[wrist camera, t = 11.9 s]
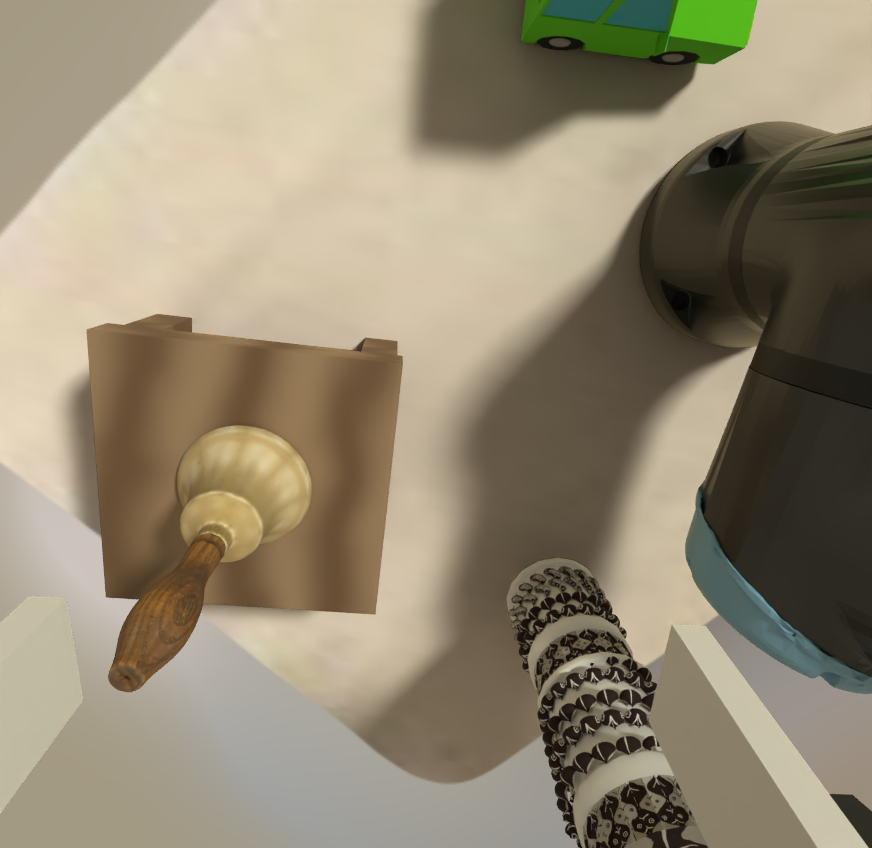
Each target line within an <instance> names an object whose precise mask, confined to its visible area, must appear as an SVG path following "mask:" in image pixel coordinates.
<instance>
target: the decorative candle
mask: <svg viewBox="0 0 872 848" xmlns="http://www.w3.org/2000/svg"><path fill="white" fill-rule="evenodd" d="M506 600H507V607H508V613H509V616H510V618H511V619H512V620H513V622H512V623H511V627H512V628H513V629H518V630H519V633H517V634H515V636H514V639H515V640H516V641H517V642H518V643H519V644H520V645H521V647H520V649H519V654H520V656H521V657H523V658H524V659H525V660H524V662H523V669H524V670H525V671H526V672H529V673H530V676H531V680H532V683H533V686H534V688H535V689H536V690H537V692H538V695H539V698H538V701H537V705H538V718H539V720H540V723H541V724H540V728H541V730H542V731H543V732H544V734H543V741H544V743H545V744H546V748H545V754H546V756H548V757H549V766H550V768H551V769H552V773H551V774H552V777H553V779H554V780H555V781H556V782H558V783H557V784H556V786H555V793H556V796H557V797H558V801H557V806H558V808H559V809H560V810H561V811H562V812H564V813H563V818H564V819H563V820H564V821H566V822H570V823H569V824H568V825H567V826H566V828H565V831H566V833H567V834H568V835H569V836H570V838H574V839H575V838H577V845H578V847H579V848H708V846H707V844H706V842H705V840H704V838H703V836H702V834H701V831H700V829H699V827H698V825H697V823H696V821H695V819H694V817H693V814H692V812H691V810H690V808H689V806H688V804H687V802H686V800H685V798H684V795H683V793H682V791H681V789H680V787H679V785H678V783H677V781H676V778H675V776H674V774H673V772H672V770H671V768H670V766H669V764H668V761H667V759H666V757H665V755H664V753H663V751H662V749H661V747H660V745H659V742H658V740H657V738H656V736H655V734H654V732H653V730H652V728H651V725H650V723H649V721H648V720H649V716H650V712H651V708H652V704H653V700H654V695H655V691H656V687H657V684H656V683H654V682H653V680H652V675H651V672H650V671H649V669H647V668H644V666H643V665H642V664H640V663H638V662H637V661H635V660H634V659H633V655H632V651H631V649H630V647H629V645H628V644H627V642H626V640H625V638H626V630H625V629H624V628H622V627H619V626H620V621H619V619H618V617H617V616H616V615H613V614H612V607H611V604H610V602H609V601H608V600H607V599H606V598H605V594H604V592H603V591H602V589H600V588H599V584H598V582H597V580H596V579H595V578H594V577H593V576H592V574H591V573H590V571H589V569H587V568H586V567H584V566H582V565H581V564H579V563H578V562H576V561H575V560H569V559H563V558H551V559H546V560H540V561H537V562H536V563H534V564H532V565H530V566H529V567H527V568H525V569H523V570H522V571H521V572H520V573H519V575H518V576H517V577H516V578H515V579H514V581H513V582H512V583H511V585H510V588H509V592H508V595H507V598H506ZM562 769H563V770H562ZM567 791H568V792H571V795H572V796H571V797H570V802H572V803H573V804H572V805H571V804H570V803H569V801H568V797H567Z"/></svg>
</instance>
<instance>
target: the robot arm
mask: <svg viewBox="0 0 872 848" xmlns="http://www.w3.org/2000/svg"><path fill="white" fill-rule="evenodd" d="M640 266H641V273H642V278H643V282H644V285H645V288H646V291H647V293H648V296H649V298H650V300H651V302H652V303H653V305H654V307H655V308H656V310H657V311H658V312H659V314H660V315H661V316H662V317H663V318H664V319H665V320H666V321H667V322H668V323H669V324H670V325H671V326H673V327H674V328H675V329H677V330H678V331H680V332H682V333H684V334H685V335H688V336H690V337H692V338H695V339H698V340H701V341H704V342H707V343H710V344H713V345H717V346H724V347H752V346H757V349H756V351H755V354H754V357H753V359H752V362H751V364H750V366H749V368H748V371H747V373H746V376H745V379H744V381H743V384H742V387H741V389H740V392H739V395H738V397H737V400H736V403H735V405H734V408H733V411H732V413H731V416H730V418H729V421H728V423H727V426H726V428H725V431H724V433H723V436H722V438H721V441H720V444H719V446H718V449H717V451H716V454H715V456H714V459H713V461H712V464H711V466H710V469H709V471H708V474H707V476H706V479H705V481H704V482H703V483H702V485H701V486H700V487H699V489H698V491H697V495H696V504H695V505H696V510H695V513H694V516H693V519H692V522H691V526H690V529H689V532H688V535H687V538H686V544H685V554H686V560H687V563H688V565H689V567H690V569H691V572H692V577H693V579H694V581H695V583H696V585H697V587H698V588H699V590H700V591H701V593H702V594H703V596H704V597H705V598H706V600H707V601H708V602H709V603H710V605H711V606H712V607H713V608H714V609H715V610H716V611H717V613H718V614H719V615H720V616H721V617H722V618H723V619H724V620H725V621H726V622H727V623H729V624H730V625H731V626H732V627H733V628H734V629H735V630H736V631H737V632H739V633H740V634H741V635H742V636H744V637H745V638H746V639H747V640H749V641H750V642H751V643H752V644H754V645H755V646H756V647H758V648H759V649H761V650H762V651H764V652H765V653H767V654H768V655H769V656H771V657H773V658H774V659H776V660H777V661H779V662H781V663H782V664H784V665H786V666H788V667H789V668H791V669H793V670H795V671H797V672H799V673H801V674H803V675H805V676H808V677H809V678H816V677H818V676H821V677H823V678H824V679H825V680H826V681H827V682H828V683H829V684H830V685H831V686H833V687H835V688H838V689H841V690H845V691H849V692H854V693H862V694H870V693H872V125H871V126H867V127H863V128H858V129H854V130H850V131H846V132H842V133H838V134H834V133H830V132H827V131H823V130H820V129H816V128H813V127H809V126H806V125H802V124H798V123H792V122H763V123H756V124H752V125H748V126H745V127H741V128H738V129H735V130H732V131H728V132H725V133H723V134H720V135H718V136H716V137H714V138H712V139H710V140H708V141H706V142H704V143H703V144H701V145H700V146H698V147H697V148H695V149H694V150H693V151H691V152H690V153H689V154H688V155H687V156H685V157H684V158H683V159H682V160H681V161H680V162H679V163H678V164H677V165H676V166H675V167H674V168H673V170H672V171H671V172H670V173H669V174H668V176H667V177H666V178H665V180H664V181H663V183H662V184H661V186H660V187H659V189H658V191H657V193H656V194H655V196H654V198H653V200H652V202H651V205H650V207H649V210H648V212H647V215H646V218H645V222H644V225H643V230H642V235H641V243H640ZM82 702H83V695H82V689H81V683H80V677H79V671H78V665H77V658H76V653H75V646H74V640H73V634H72V627H71V621H70V616H69V609H68V602H67V598H62V597H39V596H29V597H28V598H27V599H26V600H25V601H24V602H22V603H21V604H20V605H19V606H18V607H17V608H16V609H15V610H14V611H13V612H12V613H10V614H9V615H8V616H7V617H6V618H5V619H4V620H3V621H2V622H0V814H1V812H2V811H3V809H4V808H5V807H6V805H7V804H8V803H9V801H10V800H11V799H12V797H13V796H14V795H15V793H16V792H17V790H18V789H19V788H20V786H21V785H22V784H23V782H24V781H25V779H26V778H27V777H28V775H29V774H30V773H31V771H32V770H33V769H34V767H35V766H36V764H37V763H38V762H39V760H40V759H41V758H42V756H43V755H44V754H45V752H46V751H47V749H48V748H49V747H50V745H51V744H52V743H53V741H54V740H55V739H56V737H57V736H58V735H59V733H60V732H61V730H62V729H63V728H64V726H65V725H66V724H67V722H68V721H69V719H70V718H71V717H72V715H73V714H74V713H75V711H76V710H77V708H78V707H79V706H80V704H81V703H82ZM648 721H649V723H650V725H651V728H652V730H653V732H654V734H655V736H656V738H657V740H658V742H659V745H660V747H661V749H662V751H663V753H664V755H665V757H666V759H667V761H668V764H669V766H670V768H671V770H672V772H673V774H674V776H675V778H676V781H677V783H678V785H679V787H680V789H681V791H682V793H683V795H684V798H685V800H686V802H687V804H688V806H689V808H690V810H691V812H692V814H693V817H694V819H695V821H696V823H697V825H698V827H699V829H700V831H701V834H702V836H703V838H704V840H705V842H706V844H707V846H708V848H872V811H871V810H869V809H868V808H867V807H866V806H865V805H864V804H862V803H861V802H860V801H859V800H858V799H857V798H855V797H854V796H853V795H842V794H829V793H828V792H827V790H826V789H825V788H824V786H823V785H822V784H821V782H820V781H819V780H818V778H817V777H816V776H815V774H814V773H813V771H812V770H811V769H810V767H809V766H808V765H807V763H806V762H805V761H804V760H803V758H802V757H801V755H800V754H799V752H798V751H797V750H796V748H795V747H794V746H793V744H792V743H791V742H790V740H789V739H788V737H787V736H786V735H785V733H784V732H783V731H782V729H781V728H780V727H779V725H778V724H777V723H776V721H775V720H774V718H773V717H772V716H771V714H770V713H769V712H768V710H767V709H766V708H765V706H764V705H763V704H762V702H761V701H760V699H759V698H758V697H757V696H756V694H755V693H754V692H753V690H752V689H751V687H750V686H749V685H748V683H747V682H746V680H745V679H744V678H743V676H742V675H741V674H740V672H739V671H738V669H737V668H736V667H735V666H734V664H733V663H732V661H731V660H730V659H729V657H728V656H727V655H726V653H725V652H724V650H723V649H722V648H721V647H720V645H719V644H718V642H717V641H716V640H715V638H714V637H713V636H712V634H711V633H710V631H709V630H708V629H707V627H706V626H696V625H674V624H672V626H671V630H670V635H669V639H668V643H667V647H666V651H665V655H664V659H663V663H662V667H661V671H660V676H659V679H658V683H657V687H656V691H655V695H654V700H653V704H652V708H651V712H650V716H649V720H648Z"/></svg>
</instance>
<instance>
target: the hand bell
mask: <svg viewBox="0 0 872 848" xmlns="http://www.w3.org/2000/svg"><path fill="white" fill-rule="evenodd" d="M177 488H178V494H179V497H180V500H181V503H182V505H183V507H184V509H183V511H182V514H181V518H180V530H181V534H182V536H183V539H184V541H185V542H186V544H187V545H188V547H189V549H188V550H187V552H186V553H185V555H184V557H183V558H182V560H181V562H180V563H179V565H178V566H177V567H176V568H175V569H174V570H173V571H172V572H171V573H169V574H168V575H166V576H164V577H163V578H161V579H160V580H158V581H157V582H156V583H155V584H154V585H152V586H151V587H150V588H149V589H148V590H147V591H146V592H145V593H144V594H143V595H142V597H141V598H140V599H139V600H138V602H137V603H136V604H135V606H134V607H133V608H132V610H131V611H130V613H129V615H128V616H127V618H126V620H125V622H124V624H123V626H122V629H121V631H120V635H119V638H118V643H117V648H116V653H115V658H114V661H113V664H112V666H111V669H110V671H109V675H108V678H109V682H110V683H111V685H112V686H113V687H114V688H116V689H117V690H120V691H124V692H133V691H135V690H137V689H139V688H141V687H142V686H143V685H144V683H145V682H146V681H147V680H148V679H149V678H150V677H151V676H152V675H153V674H154V673H156V672H157V671H158V670H159V669H161V668H162V667H163V666H164V665H165V664H167V663H168V662H169V661H170V660H171V659H172V658H174V656H175V655H176V654H177V653H178V652H179V651H180V650H181V649H182V647H183V646H184V645H185V643H186V642H187V640H188V639H189V637H190V635H191V633H192V632H193V630H194V628H195V626H196V623H197V621H198V618H199V616H200V613H201V610H202V606H203V601H204V590H205V586H206V583H207V581H208V579H209V577H210V575H211V574H212V573H213V571H214V570H215V568H216V567H217V565H218V564H219V562H222V563H225V562H234V561H237V560H241V559H243V558H245V557H246V556H248V555H249V554H251V553H252V552H253V551H254V550H255V549H256V548H257V547H258V545H261V544H265V543H269V542H272V541H275V540H277V539H279V538H281V537H283V536H285V535H287V534H288V533H290V532H291V531H292V530H294V529H295V528H296V527H297V526H298V525H299V523H300V522H301V521H302V520H303V518H304V516H305V515H306V513H307V511H308V508H309V505H310V502H311V495H312V483H311V477H310V474H309V471H308V468H307V466H306V464H305V462H304V460H303V459H302V457H301V456H300V455H299V453H298V452H297V451H296V450H295V449H294V448H293V447H292V446H291V445H290V444H289V443H288V442H286V441H285V440H284V439H282V438H281V437H279V436H278V435H275V434H273V433H272V432H269V431H267V430H264V429H261V428H257V427H251V426H240V425H235V426H226V427H222V428H218V429H215V430H213V431H210V432H208V433H206V434H204V435H203V436H201V437H200V438H198V439H197V440H196V441H195V442H194V443H193V444H191V446H190V447H189V448H188V449H187V451H186V452H185V454H184V455H183V457H182V459H181V462H180V465H179V468H178V473H177Z"/></svg>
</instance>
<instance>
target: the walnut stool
mask: <svg viewBox="0 0 872 848" xmlns="http://www.w3.org/2000/svg"><path fill="white" fill-rule="evenodd" d="M87 342H88V356H89V370H90V384H91V398H92V412H93V425H94V439H95V453H96V467H97V481H98V495H99V508H100V522H101V536H102V548H103V563H104V577H105V591H106V597H109V598H126V599H140V598H141V597H142V595H143V594H144V593H145V592H146V591H147V590H148V589H149V588H150V587H151V586H152V585H154V584H155V583H156V582H157V581H158V580H160V579H161V578H163V577H164V576H166V575H168V574H169V573H171V572H172V571H173V570H174V569H175V568H176V567H177V566H178V565H179V563H180V562H181V560H182V558H183V557H184V555H185V553H186V552H187V550H188V549H189V547H188V545H187V544H186V542H185V541H184V539H183V536H182V534H181V530H180V518H181V514H182V511H183V509H184V507H183V505H182V503H181V500H180V497H179V494H178V488H177V473H178V468H179V465H180V462H181V459H182V457H183V455H184V454H185V452H186V451H187V449H188V448H189V447H190V446H191V444H193V443H194V442H195V441H196V440H197V439H198V438H200V437H201V436H203V435H204V434H206V433H208V432H210V431H213V430H215V429H218V428H222V427H226V426H235V425H240V426H251V427H257V428H261V429H264V430H267V431H269V432H272V433H273V434H275V435H278V436H279V437H281V438H282V439H284V440H285V441H286V442H288V443H289V444H290V445H291V446H292V447H293V448H294V449H295V450H296V451H297V452H298V453H299V455H300V456H301V457H302V459H303V460H304V462H305V464H306V466H307V468H308V471H309V474H310V477H311V483H312V495H311V502H310V505H309V508H308V511H307V513H306V515H305V516H304V518H303V520H302V521H301V522H300V523H299V525H298V526H297V527H296V528H295V529H294V530H292V531H291V532H290V533H288V534H287V535H285V536H283V537H281V538H279V539H277V540H275V541H272V542H269V543H265V544H261V545H258V547H257V548H256V549H255V550H254V551H253V552H252V553H251V554H249V555H248V556H246V557H245V558H243V559H241V560H237V561H234V562H225V563H222V562H219V564H218V565H217V567H216V568H215V570H214V571H213V573H212V574H211V575H210V577H209V579H208V581H207V583H206V586H205V590H204V601H203V603H204V604H219V605H235V606H251V607H267V608H282V609H298V610H314V611H329V612H345V613H361V614H375V612H376V603H377V594H378V585H379V576H380V567H381V558H382V548H383V539H384V530H385V521H386V512H387V503H388V494H389V484H390V475H391V466H392V457H393V448H394V439H395V429H396V420H397V411H398V402H399V393H400V384H401V375H402V365H403V361H402V356H398V355H397V341H390V340H381V339H372V338H365V341H364V344H363V347H362V350H361V351H353V350H344V349H335V348H326V347H317V346H308V345H299V344H290V343H281V342H272V341H263V340H254V339H245V338H236V337H227V336H218V335H209V334H200V333H192V318H187V317H179V316H170V315H161V314H156V315H153V316H150V317H147V318H144V319H141V320H138V321H135V322H132V323H129V324H126V325H119V324H110V323H107V324H103V325H100V326H97V327H94V328H90V329H87Z"/></svg>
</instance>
